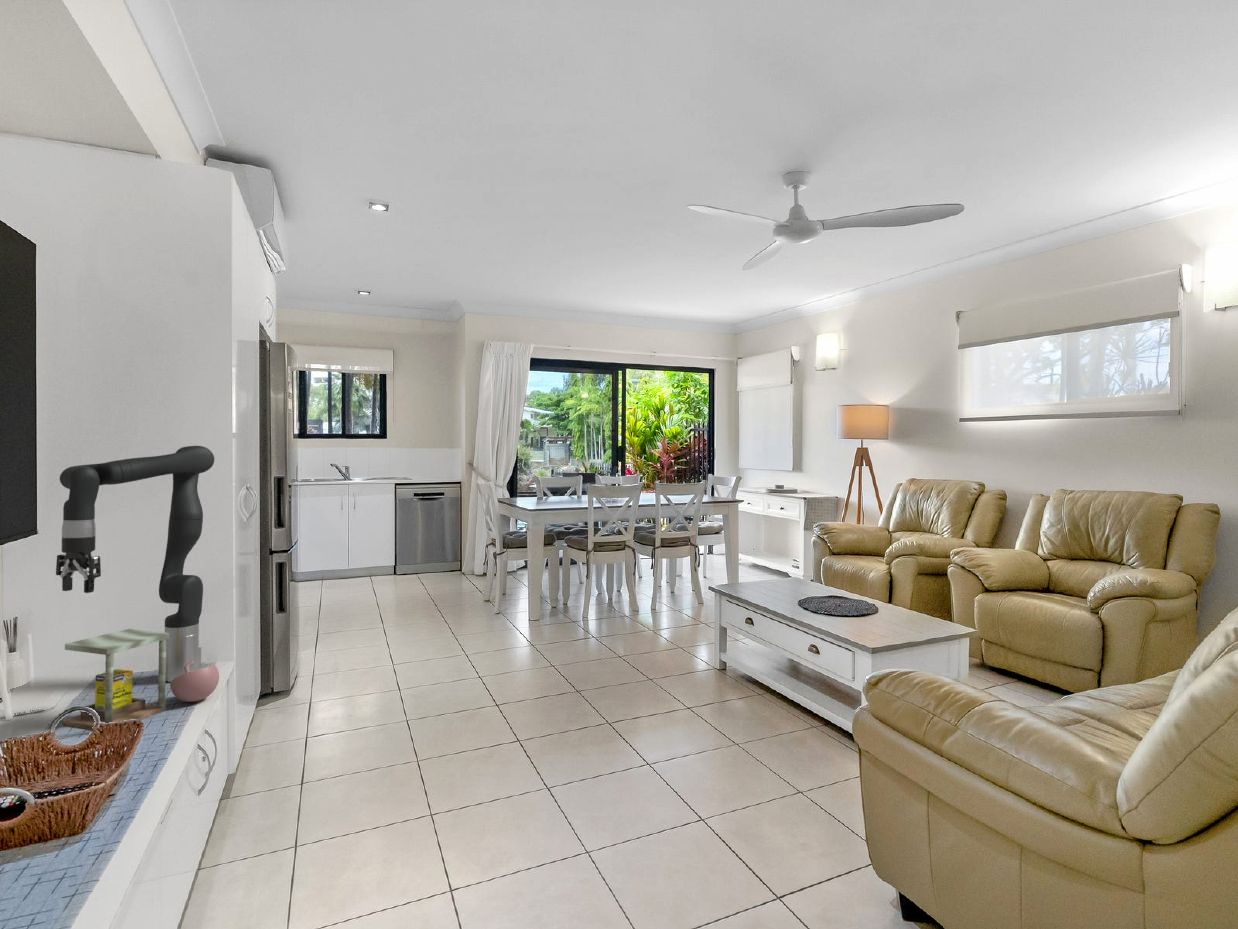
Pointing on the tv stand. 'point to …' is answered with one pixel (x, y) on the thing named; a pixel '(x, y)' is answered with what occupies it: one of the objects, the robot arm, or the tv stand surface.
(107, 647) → the small green table
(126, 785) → the tv stand surface
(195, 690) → the mortar and pestle
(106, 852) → the tv stand surface
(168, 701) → the tv stand surface
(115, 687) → the supplement box
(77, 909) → the tv stand surface
